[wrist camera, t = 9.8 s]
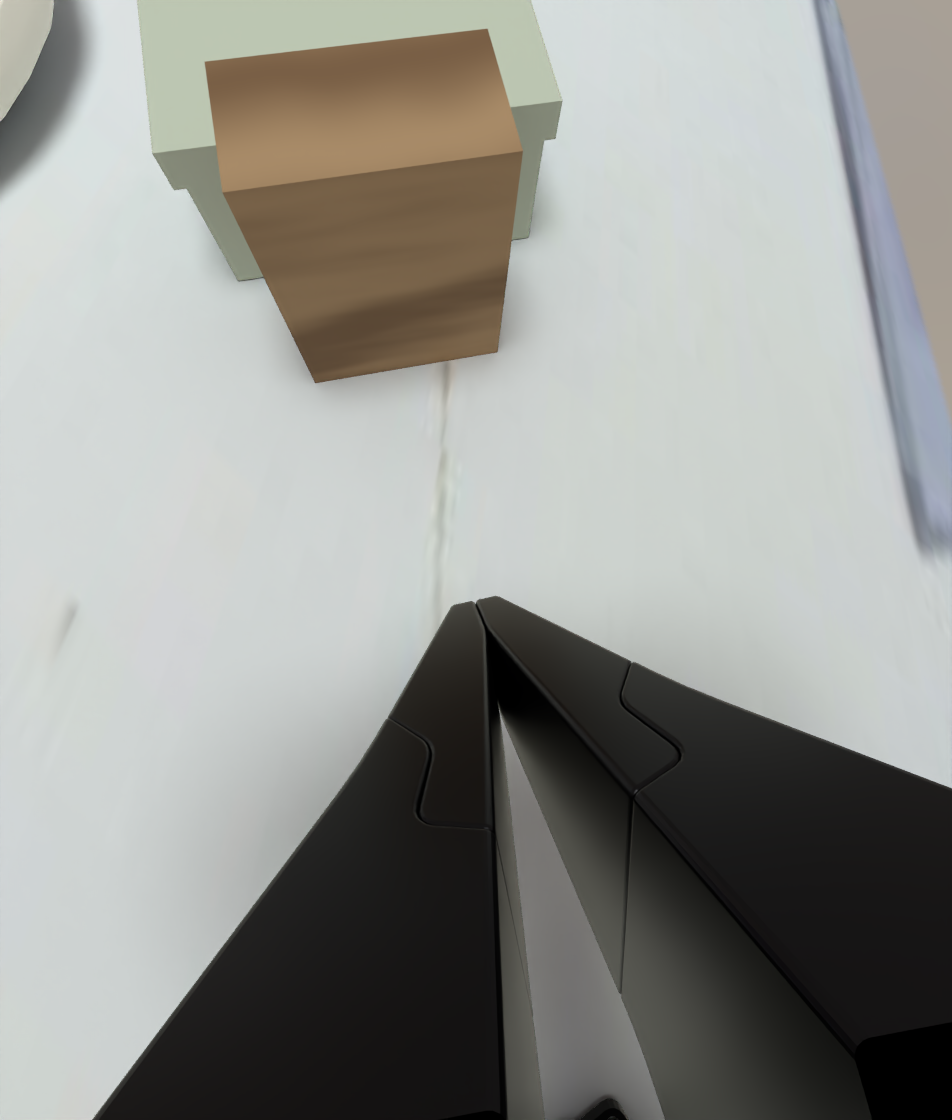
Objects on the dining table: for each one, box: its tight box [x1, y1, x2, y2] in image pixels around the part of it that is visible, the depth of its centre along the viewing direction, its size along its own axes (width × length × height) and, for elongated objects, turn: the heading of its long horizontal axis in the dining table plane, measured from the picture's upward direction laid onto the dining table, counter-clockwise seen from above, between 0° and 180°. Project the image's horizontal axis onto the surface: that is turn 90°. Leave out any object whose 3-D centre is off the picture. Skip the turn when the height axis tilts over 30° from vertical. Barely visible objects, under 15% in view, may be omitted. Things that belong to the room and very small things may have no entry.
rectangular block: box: [205, 29, 523, 383], centre depth 21 cm, size 13×9×10 cm
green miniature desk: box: [137, 0, 562, 281], centre depth 24 cm, size 9×16×6 cm, turn 102°
